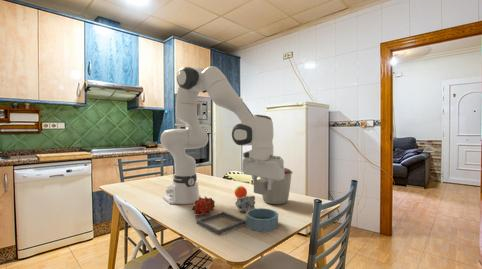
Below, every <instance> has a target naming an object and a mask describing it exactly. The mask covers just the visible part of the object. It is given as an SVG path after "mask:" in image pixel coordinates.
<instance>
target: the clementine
mask: <svg viewBox="0 0 482 269" xmlns="http://www.w3.org/2000/svg"><path fill="white" fill-rule="evenodd" d="M234 189H235V190H234V195H235V197H236V198H237V199H239V198H241V197H243V196H244V197H245V196H248V195H247V193H248V191H247V188H246V187H245V186H243V185H238V186H237V187H236V188H234Z"/></svg>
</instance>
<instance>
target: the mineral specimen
mask: <svg viewBox="0 0 482 269" xmlns="http://www.w3.org/2000/svg"><path fill="white" fill-rule="evenodd" d="M255 200H256V196H255V195H249V196H248V195H246V196H245V197H244V196H243V197H241V198H237V200H236V202H235V203H234V205H235V207H236V208H237V210H239V211H240V212H242V213H243V212H244V213H247V211H249V210H252V209H256V207H255V206H254V205H255V204H256V202H255Z"/></svg>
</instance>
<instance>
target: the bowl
mask: <svg viewBox="0 0 482 269" xmlns="http://www.w3.org/2000/svg"><path fill="white" fill-rule="evenodd" d="M245 220H246V224H245V225H246V227H247V228H248V229H250V230H252V231H256V232H272V231H274V230H276V229H278V227H279V213H278V212H277V211H276V210H273V209H270V208H262V207H260V208H255V209H252V210H249V211H247V212H245Z"/></svg>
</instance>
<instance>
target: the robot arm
mask: <svg viewBox="0 0 482 269" xmlns="http://www.w3.org/2000/svg"><path fill="white" fill-rule="evenodd" d="M176 82H177V84H178V87H177V92H176V98H175V100H176V102H175V118H176V119H177V120H178V121H179V122H181V123H183V124H185V128H172V129H171V128H170V129H166V130H163V132H162V133H161V135H160V140H159V142H160V145H161V146H162V147H163V148H164V149H165V150H167V151H168V153H169V154H170V155H171V156H172V159H173V165H174V174H173V175H172V178H173V179H172V182H171V183H170V184H169V185H168V186H167V188H166V190H165V192H166V194H163V195H162V198H163V199H164V200H165V202H167V203H168V204H169V205H188V204H193V203H194V204H195V201H197V200H199V198H201V195H200V194H199V193H200V192H199V184H198V182H197V180H198V179H197V178H198V175H197V172H196V170H197V167H196V166H197V165H196V164H197V163H196V160H195V158H194V157H193V156H191V155H189V154H187V153H186V150H191V149H192V150H194V149H201V148H204V147H206V145H207V144H208V142H209V134H208V133H207V131H206V130H205V129H204V128H203V127H202V126H201V125H200V122H199V119H198V104H199V103H198V98H199V97H198V96H199V94H200V93H202V94H205V93H207V95H208V96H209V99H211V101H212V102H213V103H214V104H215V105H216V106H218V107H220V108H223V109H225V110H228V111H230V112H231V113H234V114H235V115H236V116H237V118H238V119H239V121H240V122H241V123H238V124H236V125H234V127H233V128H232V131H231V137H232V140H233V142H234V143H235V144H236V145H238V146H242V147H243V146H245V147H246V146H251V149H250V150H247V151H244V152H243V153H242V157H243V158H242V165H241V166H242V173H243V175H247V176H251V179H252V180H251V181H253V183H254V180H258V178H260V177H261V178H266V179H268V182H269V183H268V185H266V189H267V190H271V185H272V183H273V182H274V180H276V181H280V180H283V179H284V178H285V172H284V168H285V165H284V162H285V161H284V159H283V158H282V157H281V156H278V155H274V144H273V140H274V122H273V119H272V118H271V117H270V116H267V115H263V114H262V115H261V114H253V113H252V112H251V110H250V109H249V107H248V106H247V104H245V102H244V101H243V100H242V98H241V97H240V96H239V95H238V93H237V92H236V91H235V89H234V88H233V86H232V85H231V84H230V82H229V80H228V78H227V77H226V75H225V74H224V73H223V72H222V71H221V70H220V69H219V68H218V67H217V66H213V65H212V66H208V67H206V68H200V67H190V66H184V67H180V69H179V70H178V72H177V74H176Z"/></svg>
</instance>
